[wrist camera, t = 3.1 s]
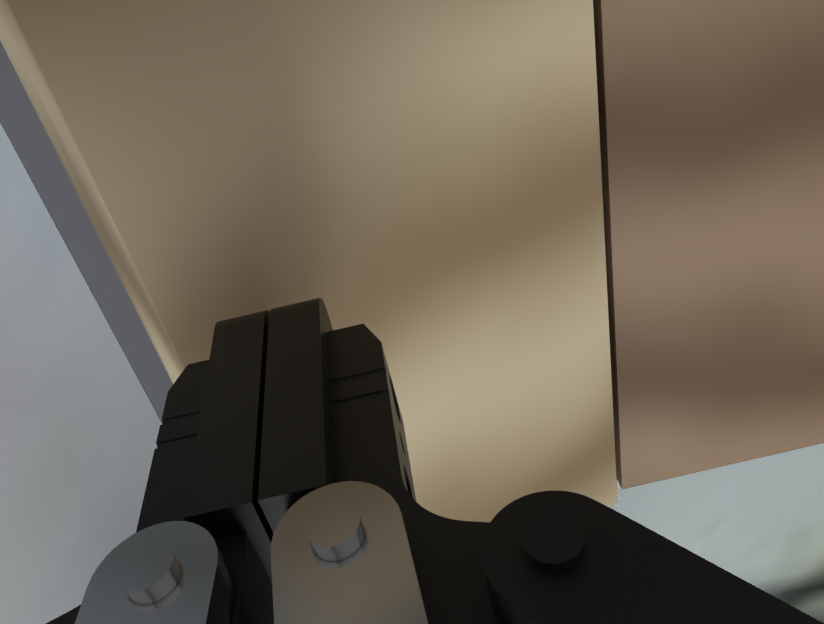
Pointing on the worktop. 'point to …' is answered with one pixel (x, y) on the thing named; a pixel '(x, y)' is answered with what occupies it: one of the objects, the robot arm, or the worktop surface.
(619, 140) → the walnut plank
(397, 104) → the oak plank
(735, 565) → the worktop surface
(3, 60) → the underlay mat
